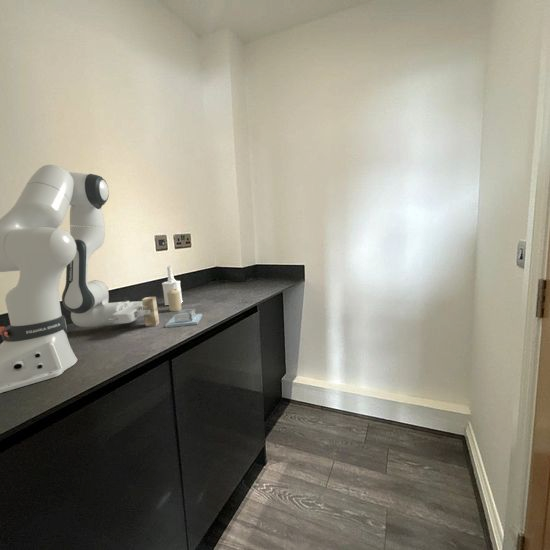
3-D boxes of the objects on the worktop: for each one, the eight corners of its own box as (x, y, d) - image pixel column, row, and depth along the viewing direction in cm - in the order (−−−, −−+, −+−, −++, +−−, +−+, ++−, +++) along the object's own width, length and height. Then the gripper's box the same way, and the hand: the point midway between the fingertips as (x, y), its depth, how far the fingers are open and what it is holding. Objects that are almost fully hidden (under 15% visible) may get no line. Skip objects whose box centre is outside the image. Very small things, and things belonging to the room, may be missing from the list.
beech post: (145, 326, 115) (141, 299, 114) (149, 323, 119) (145, 297, 118) (156, 325, 116) (152, 298, 114) (159, 322, 119) (155, 296, 118)
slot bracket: (179, 317, 122) (178, 310, 121) (195, 315, 122) (194, 308, 122) (174, 322, 114) (174, 315, 114) (192, 320, 115) (191, 313, 114)
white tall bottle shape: (161, 304, 153) (156, 267, 151) (177, 300, 160) (173, 264, 157) (170, 307, 146) (165, 267, 143) (187, 302, 152) (182, 265, 150)
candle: (177, 311, 136) (175, 290, 135) (167, 311, 137) (164, 290, 136) (183, 308, 141) (181, 288, 140) (173, 308, 142) (171, 288, 141)
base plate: (173, 318, 124) (173, 316, 124) (202, 315, 125) (201, 313, 124) (165, 327, 112) (165, 325, 112) (196, 324, 113) (196, 322, 113)
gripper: (102, 312, 105) (142, 308, 106) (126, 299, 125) (159, 296, 126) (105, 329, 106) (144, 325, 107) (129, 314, 126) (161, 310, 127)
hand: (152, 309), depth 117 cm, fingers closed on beech post, 4 cm apart
